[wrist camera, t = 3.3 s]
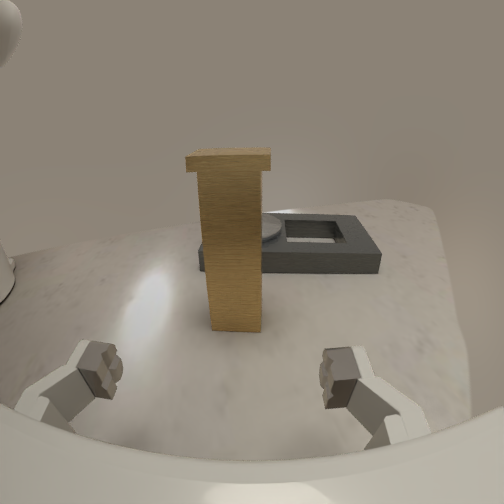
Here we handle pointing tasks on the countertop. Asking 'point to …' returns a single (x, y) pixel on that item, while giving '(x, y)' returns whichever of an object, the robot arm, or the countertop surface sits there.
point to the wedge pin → (232, 232)
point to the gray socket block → (315, 245)
